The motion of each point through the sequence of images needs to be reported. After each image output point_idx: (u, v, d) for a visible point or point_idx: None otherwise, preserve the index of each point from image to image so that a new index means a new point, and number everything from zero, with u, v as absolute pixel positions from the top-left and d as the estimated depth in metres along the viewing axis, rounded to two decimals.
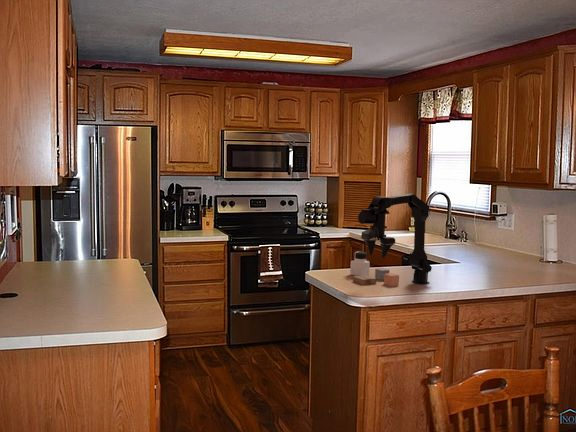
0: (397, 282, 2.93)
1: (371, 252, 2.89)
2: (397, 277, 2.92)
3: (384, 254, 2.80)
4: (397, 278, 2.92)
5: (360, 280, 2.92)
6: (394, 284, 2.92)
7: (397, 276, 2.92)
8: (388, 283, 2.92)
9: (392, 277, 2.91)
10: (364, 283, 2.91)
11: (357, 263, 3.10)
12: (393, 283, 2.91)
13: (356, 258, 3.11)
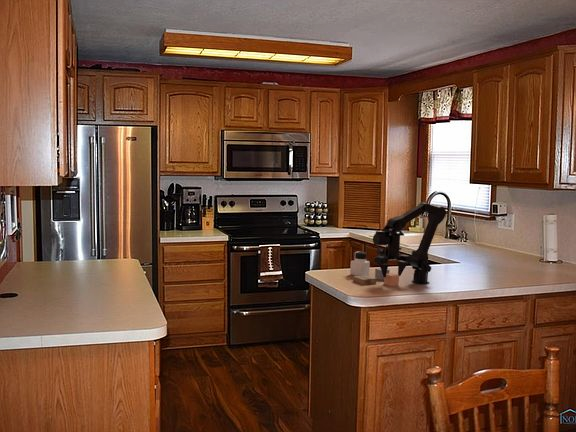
0: (397, 282, 2.93)
1: (399, 273, 2.96)
2: (397, 277, 2.92)
3: (383, 273, 2.91)
4: (397, 278, 2.92)
5: (360, 280, 2.92)
6: (394, 284, 2.92)
7: (397, 276, 2.92)
8: (388, 283, 2.92)
9: (392, 277, 2.91)
10: (364, 283, 2.91)
11: (357, 263, 3.10)
12: (393, 283, 2.91)
13: (356, 258, 3.11)
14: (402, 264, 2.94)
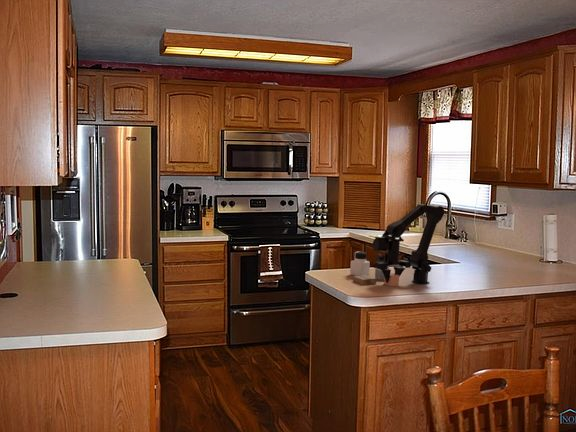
0: (397, 282, 2.93)
1: None
2: (397, 277, 2.92)
3: (386, 279, 2.92)
4: (397, 278, 2.92)
5: (360, 280, 2.92)
6: (394, 284, 2.92)
7: (397, 276, 2.92)
8: (388, 283, 2.92)
9: (392, 277, 2.91)
10: (364, 283, 2.91)
11: (357, 263, 3.10)
12: (393, 282, 2.91)
13: (356, 258, 3.11)
14: (398, 270, 2.94)
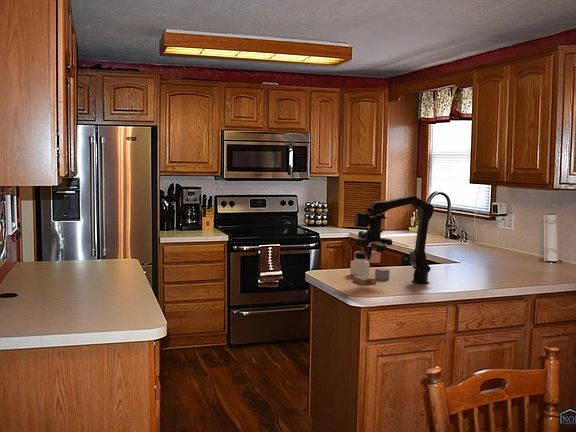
0: (379, 259, 2.93)
1: None
2: (379, 254, 2.92)
3: (367, 256, 2.92)
4: (379, 255, 2.92)
5: (360, 280, 2.92)
6: (375, 261, 2.92)
7: (379, 253, 2.92)
8: (369, 260, 2.92)
9: (374, 254, 2.91)
10: (364, 283, 2.91)
11: (357, 263, 3.10)
12: (375, 259, 2.91)
13: (356, 258, 3.11)
14: (380, 247, 2.94)
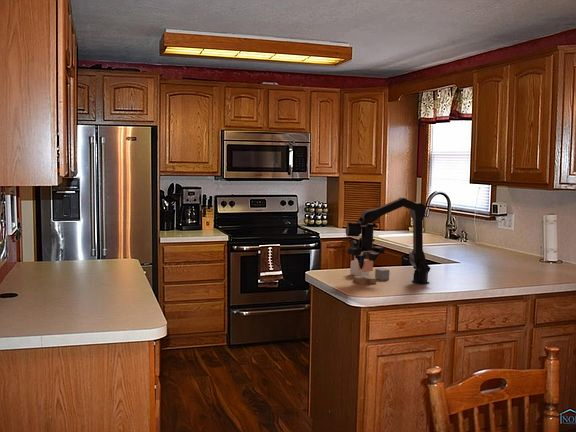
0: (371, 268, 2.94)
1: None
2: (371, 263, 2.93)
3: (360, 265, 2.93)
4: (371, 264, 2.94)
5: (360, 280, 2.92)
6: (368, 270, 2.93)
7: (371, 262, 2.93)
8: (362, 269, 2.93)
9: (366, 263, 2.92)
10: (364, 283, 2.91)
11: (357, 263, 3.10)
12: (367, 268, 2.93)
13: (356, 258, 3.11)
14: (373, 256, 2.95)
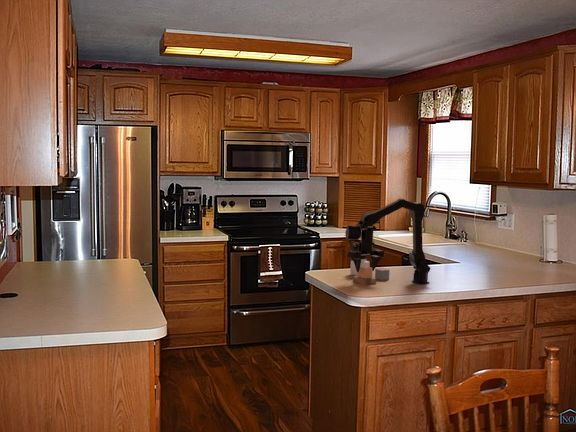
0: (370, 275, 2.94)
1: (372, 268, 2.97)
2: (370, 270, 2.94)
3: (356, 268, 2.92)
4: (370, 271, 2.94)
5: (360, 280, 2.92)
6: (367, 277, 2.94)
7: (370, 269, 2.94)
8: (361, 276, 2.94)
9: (366, 270, 2.93)
10: (364, 283, 2.91)
11: None
12: (366, 275, 2.93)
13: None
14: (375, 259, 2.96)
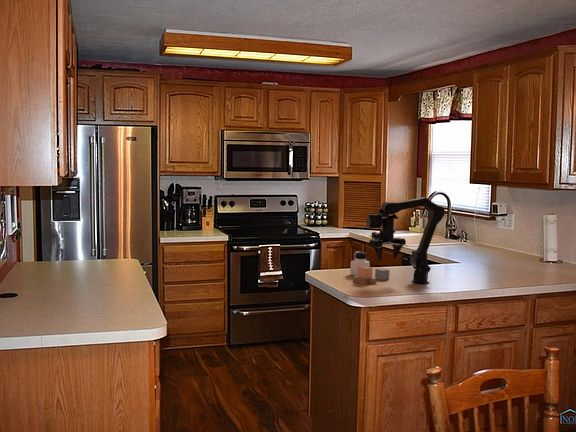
0: (370, 275, 2.94)
1: (394, 256, 2.98)
2: (370, 270, 2.94)
3: (378, 256, 2.93)
4: (370, 271, 2.94)
5: (360, 280, 2.92)
6: (367, 277, 2.93)
7: (370, 269, 2.94)
8: (361, 276, 2.93)
9: (366, 270, 2.92)
10: (364, 283, 2.91)
11: (357, 263, 3.10)
12: (366, 275, 2.93)
13: (356, 258, 3.11)
14: (397, 247, 2.96)
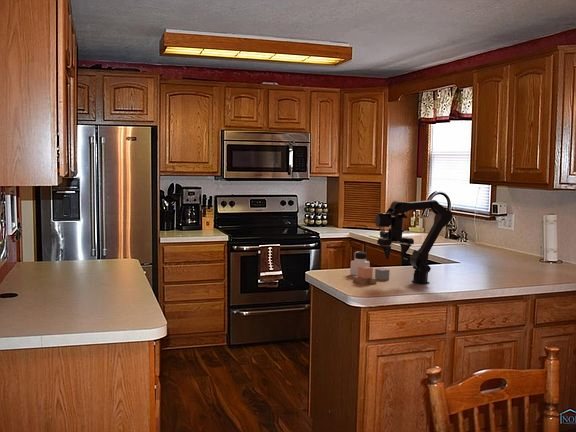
0: (371, 275, 2.94)
1: (401, 256, 2.98)
2: (371, 270, 2.94)
3: (386, 255, 2.93)
4: (371, 271, 2.94)
5: (360, 280, 2.92)
6: (368, 277, 2.94)
7: (371, 269, 2.94)
8: (362, 276, 2.94)
9: (366, 270, 2.92)
10: (364, 283, 2.91)
11: (357, 263, 3.10)
12: (367, 275, 2.93)
13: (356, 258, 3.11)
14: (405, 246, 2.97)
